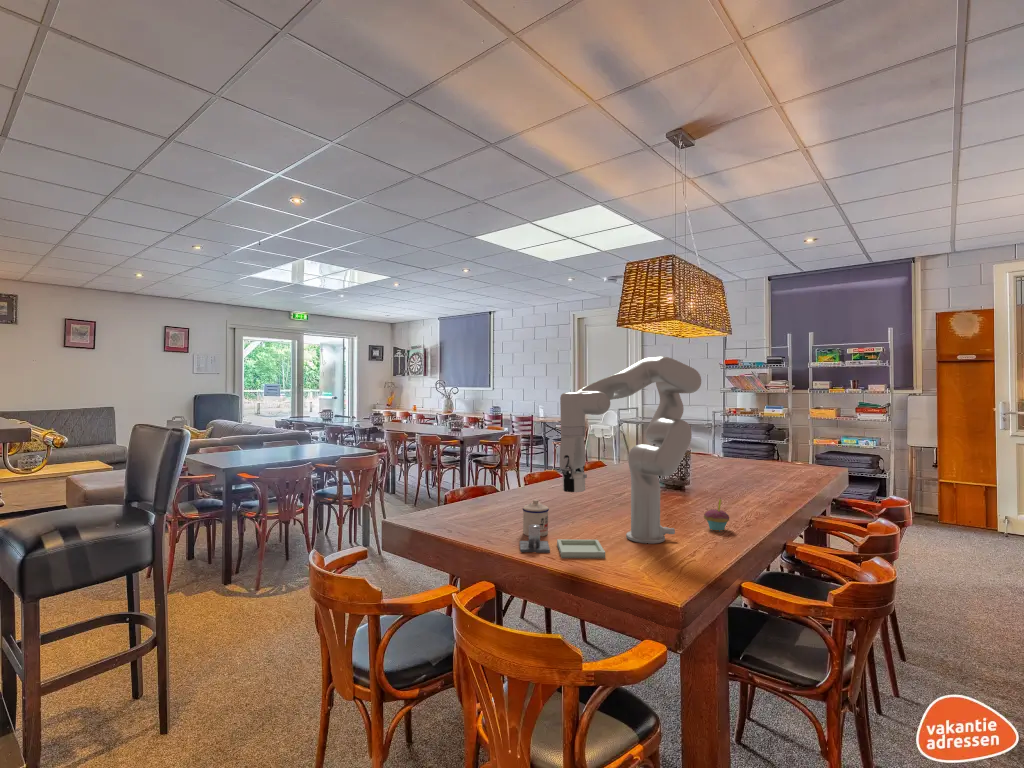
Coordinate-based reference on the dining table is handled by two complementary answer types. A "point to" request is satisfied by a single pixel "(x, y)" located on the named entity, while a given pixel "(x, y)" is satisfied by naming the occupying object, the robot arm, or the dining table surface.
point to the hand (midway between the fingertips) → (574, 489)
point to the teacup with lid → (535, 517)
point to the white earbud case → (578, 481)
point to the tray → (580, 548)
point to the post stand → (534, 541)
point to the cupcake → (717, 518)
